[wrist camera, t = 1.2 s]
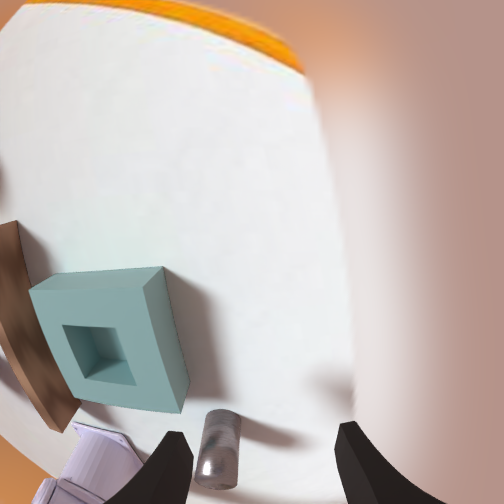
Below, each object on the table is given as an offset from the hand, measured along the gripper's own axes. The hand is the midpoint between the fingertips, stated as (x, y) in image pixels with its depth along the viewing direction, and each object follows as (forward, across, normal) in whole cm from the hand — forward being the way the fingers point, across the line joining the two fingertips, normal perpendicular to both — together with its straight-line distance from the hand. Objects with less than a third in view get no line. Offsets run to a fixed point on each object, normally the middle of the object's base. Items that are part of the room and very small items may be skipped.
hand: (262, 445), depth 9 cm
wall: (+10, +21, 0) cm, 23 cm away
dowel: (+10, +4, +10) cm, 15 cm away
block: (+10, +11, 0) cm, 15 cm away
